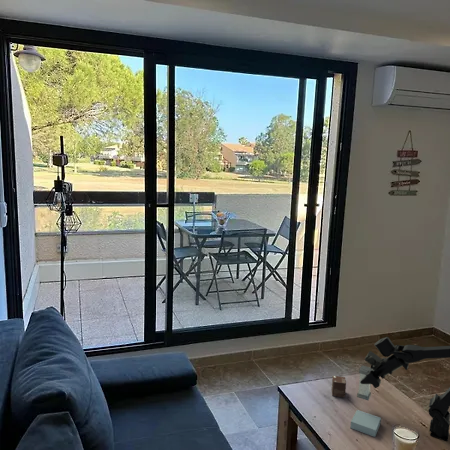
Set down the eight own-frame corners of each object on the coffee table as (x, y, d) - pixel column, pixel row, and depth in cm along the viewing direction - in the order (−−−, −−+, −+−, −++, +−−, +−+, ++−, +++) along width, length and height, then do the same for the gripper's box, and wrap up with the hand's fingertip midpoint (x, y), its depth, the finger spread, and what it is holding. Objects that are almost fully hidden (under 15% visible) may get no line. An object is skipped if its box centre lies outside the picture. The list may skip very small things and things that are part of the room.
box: (345, 398, 193) (346, 383, 192) (332, 396, 194) (333, 381, 193) (344, 391, 199) (345, 377, 198) (331, 389, 200) (332, 375, 199)
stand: (380, 424, 174) (380, 417, 174) (375, 437, 166) (375, 430, 165) (356, 415, 180) (357, 409, 179) (350, 428, 171) (350, 421, 171)
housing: (370, 395, 185) (373, 368, 183) (368, 400, 180) (370, 373, 178) (359, 391, 187) (361, 365, 185) (356, 397, 183) (359, 369, 181)
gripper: (381, 340, 186) (355, 357, 193) (373, 356, 170) (344, 373, 177) (398, 361, 183) (371, 377, 190) (391, 380, 167) (361, 396, 175)
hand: (362, 380), depth 183 cm, fingers closed on housing, 4 cm apart
